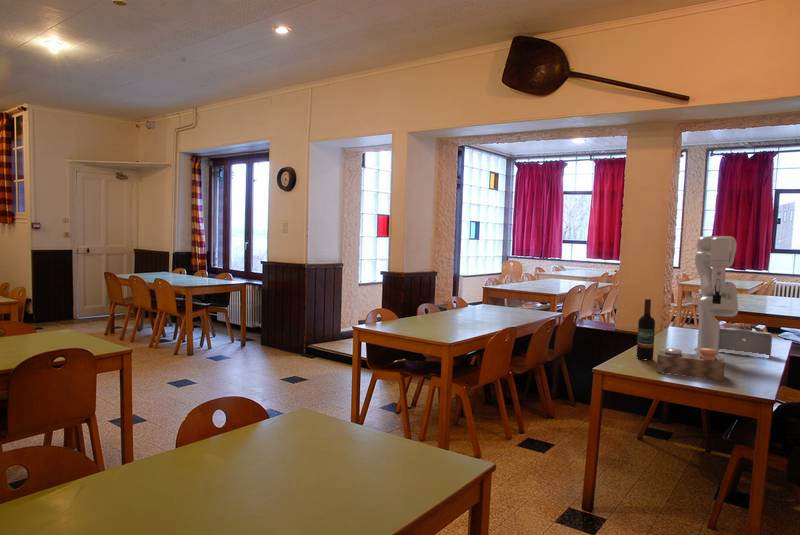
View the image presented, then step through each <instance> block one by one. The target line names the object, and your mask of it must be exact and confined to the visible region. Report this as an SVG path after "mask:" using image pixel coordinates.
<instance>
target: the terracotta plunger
mask: <svg viewBox="0 0 800 535" xmlns="http://www.w3.org/2000/svg"><path fill="white" fill-rule="evenodd" d="M700 353H702V359H705V360H713V361H715V355H718V356H719V352H718V350H716V349H710V348H700Z"/></svg>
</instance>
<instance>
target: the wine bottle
mask: <svg viewBox="0 0 800 535" xmlns="http://www.w3.org/2000/svg"><path fill="white" fill-rule="evenodd" d="M651 304H652V299H646V298H645V299H644V309H643V310H644V311H643V315H642V316H640V317H639V319H638V321H637V322H638V324H637V340H636V343H637V344H636V357H638V358H640V359H647V360H646V361H649V360H650V361H652V360H651V359H653V360H654V346H655V329H656V321H655V318H653V317H652V315H651V309H652V308H651V306H652V305H651ZM640 359H639V360H640Z"/></svg>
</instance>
